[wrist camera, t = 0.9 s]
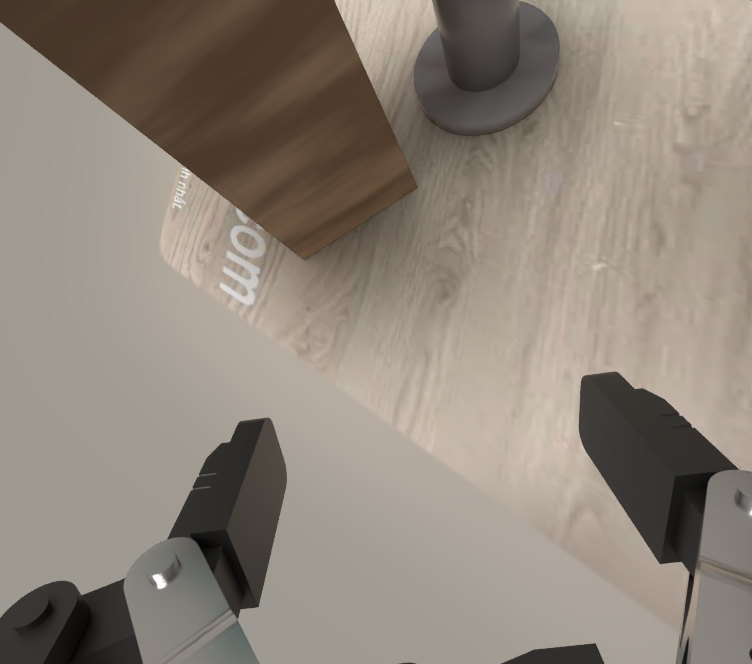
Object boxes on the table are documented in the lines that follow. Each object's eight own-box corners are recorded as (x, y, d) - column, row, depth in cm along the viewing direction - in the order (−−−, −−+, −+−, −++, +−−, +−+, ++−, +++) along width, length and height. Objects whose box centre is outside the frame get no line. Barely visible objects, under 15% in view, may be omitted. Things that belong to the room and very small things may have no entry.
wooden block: (259, 166, 45) (-170, -264, 17) (360, 96, 43) (54, -522, 15) (304, 260, 41) (-165, -108, 13) (417, 187, 39) (142, -428, 11)
